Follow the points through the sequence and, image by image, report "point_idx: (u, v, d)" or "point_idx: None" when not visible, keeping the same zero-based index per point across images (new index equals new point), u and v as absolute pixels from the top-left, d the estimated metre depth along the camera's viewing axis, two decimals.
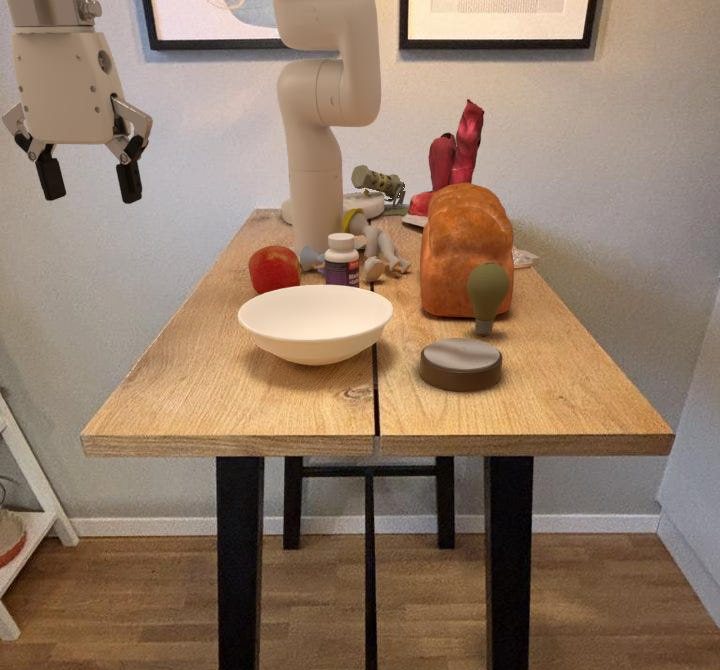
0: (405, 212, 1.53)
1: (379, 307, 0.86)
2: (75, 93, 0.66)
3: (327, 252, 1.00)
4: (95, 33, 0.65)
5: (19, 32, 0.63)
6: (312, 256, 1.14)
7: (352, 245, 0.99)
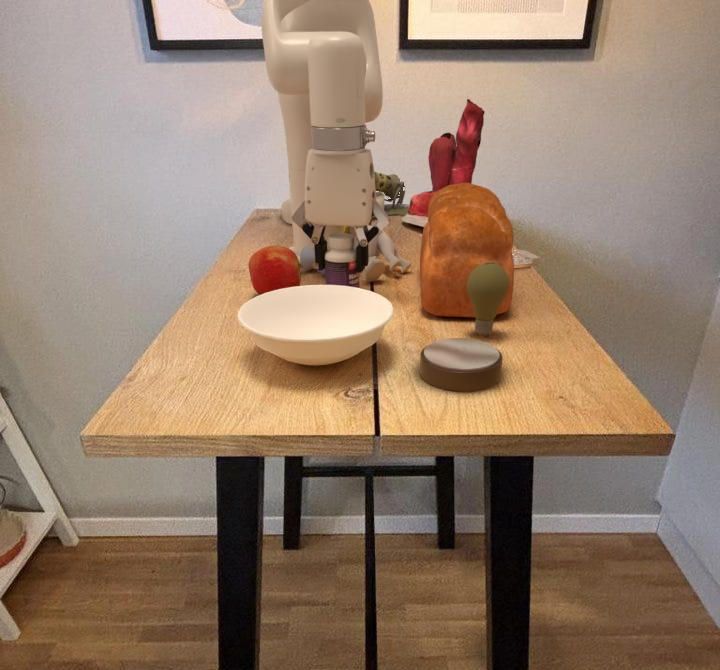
0: (405, 212, 1.53)
1: (379, 307, 0.86)
2: (350, 193, 0.93)
3: (327, 252, 1.00)
4: (368, 152, 0.92)
5: (320, 153, 0.90)
6: (312, 256, 1.14)
7: (352, 245, 0.99)
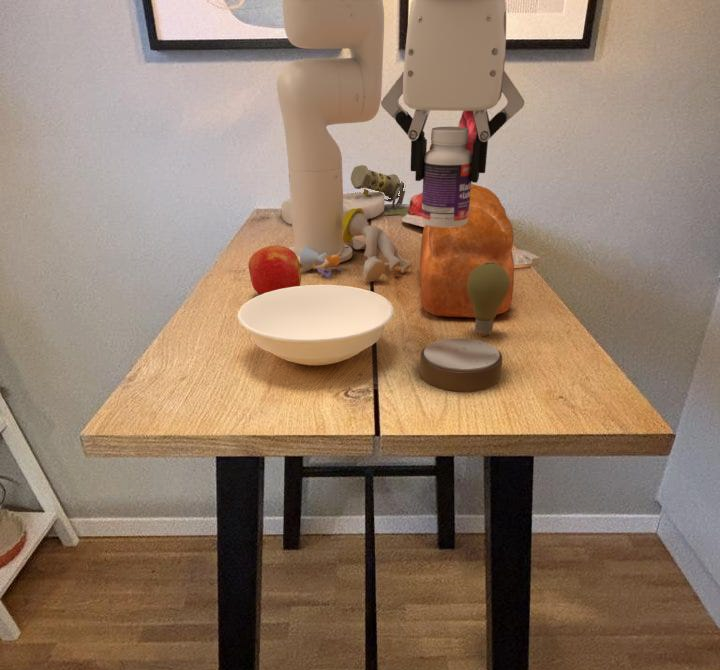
0: (405, 212, 1.53)
1: (379, 307, 0.86)
2: (474, 56, 0.64)
3: (429, 152, 0.71)
4: None
5: None
6: (312, 256, 1.14)
7: (466, 141, 0.70)
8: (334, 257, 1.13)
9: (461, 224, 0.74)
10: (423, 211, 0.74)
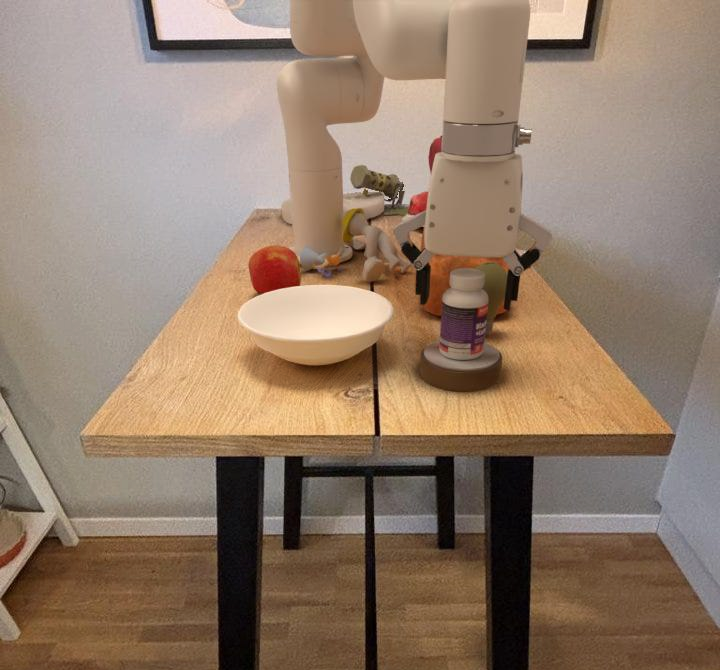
0: (405, 212, 1.53)
1: (379, 307, 0.86)
2: (492, 213, 0.68)
3: (448, 294, 0.76)
4: (520, 158, 0.67)
5: (457, 159, 0.65)
6: (312, 256, 1.14)
7: (482, 285, 0.75)
8: (334, 257, 1.13)
9: (477, 356, 0.78)
10: (441, 343, 0.79)
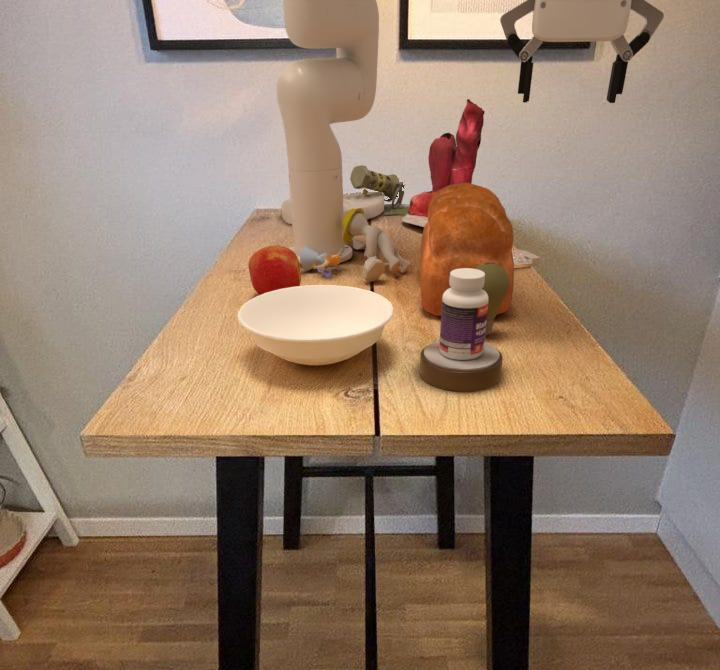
0: (405, 212, 1.53)
1: (379, 307, 0.86)
2: None
3: (448, 294, 0.76)
4: None
5: None
6: (312, 256, 1.14)
7: (482, 285, 0.75)
8: (334, 257, 1.13)
9: (477, 356, 0.78)
10: (441, 343, 0.79)
